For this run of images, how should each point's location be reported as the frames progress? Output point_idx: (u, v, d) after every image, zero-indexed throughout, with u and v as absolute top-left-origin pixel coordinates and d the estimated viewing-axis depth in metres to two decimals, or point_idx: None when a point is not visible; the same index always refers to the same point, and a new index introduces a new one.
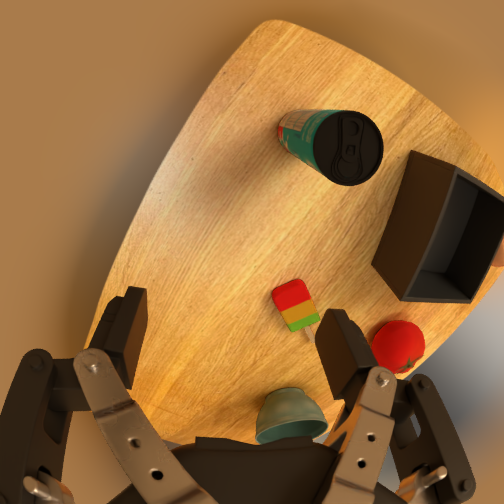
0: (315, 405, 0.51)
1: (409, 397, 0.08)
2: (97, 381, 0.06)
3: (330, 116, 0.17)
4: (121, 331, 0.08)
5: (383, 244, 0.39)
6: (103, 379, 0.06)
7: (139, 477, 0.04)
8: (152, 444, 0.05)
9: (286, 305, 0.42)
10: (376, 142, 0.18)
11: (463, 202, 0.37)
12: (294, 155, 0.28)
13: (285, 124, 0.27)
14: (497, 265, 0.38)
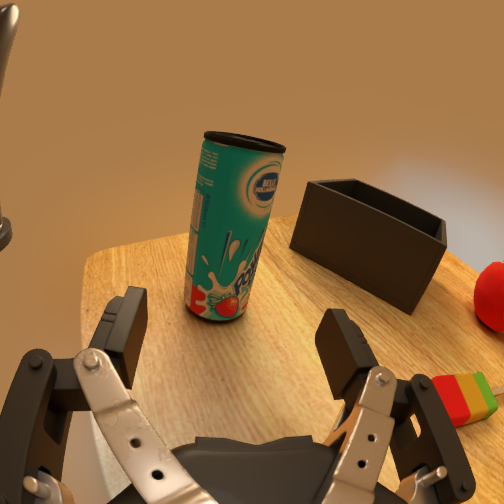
0: None
1: (409, 398, 0.08)
2: (97, 381, 0.06)
3: (205, 133, 0.18)
4: (121, 331, 0.08)
5: (387, 293, 0.31)
6: (103, 379, 0.06)
7: (139, 477, 0.04)
8: (152, 444, 0.05)
9: (461, 404, 0.15)
10: (251, 140, 0.21)
11: None
12: (233, 279, 0.21)
13: (190, 275, 0.22)
14: None
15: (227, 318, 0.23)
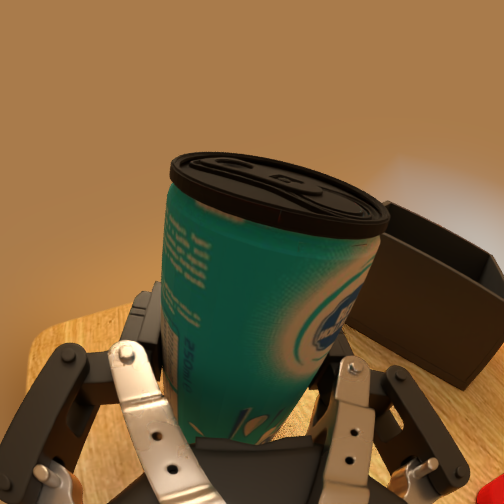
0: None
1: (385, 389, 0.08)
2: (129, 372, 0.07)
3: (173, 162, 0.06)
4: (153, 324, 0.09)
5: (440, 368, 0.20)
6: (140, 370, 0.07)
7: (154, 469, 0.04)
8: (174, 439, 0.05)
9: None
10: (287, 172, 0.09)
11: None
12: None
13: None
14: None
15: None
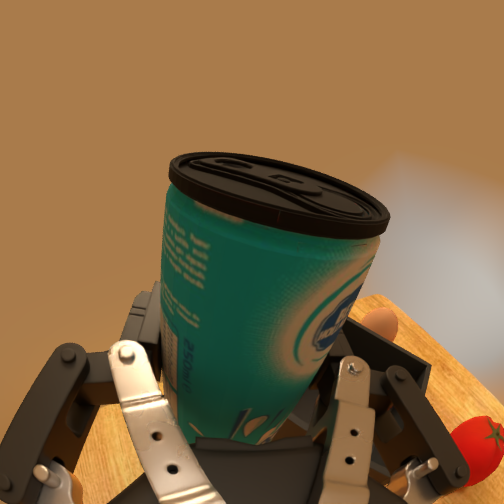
0: None
1: (385, 389, 0.08)
2: (129, 372, 0.07)
3: (172, 162, 0.06)
4: (153, 324, 0.09)
5: None
6: (140, 370, 0.07)
7: (154, 469, 0.04)
8: (174, 439, 0.05)
9: None
10: (287, 172, 0.09)
11: None
12: None
13: None
14: (395, 327, 0.42)
15: None
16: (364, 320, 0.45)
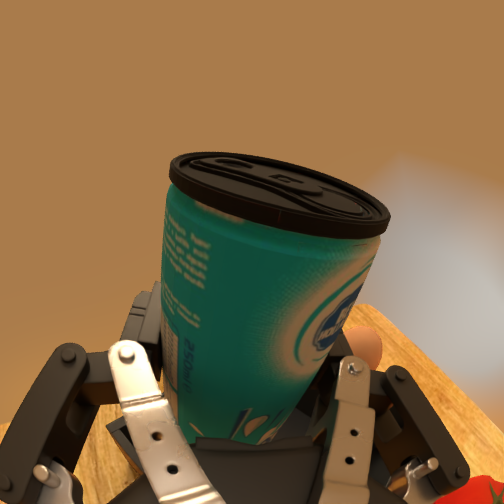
0: None
1: (384, 390, 0.08)
2: (129, 372, 0.07)
3: (172, 162, 0.06)
4: (153, 324, 0.09)
5: None
6: (140, 370, 0.07)
7: (154, 469, 0.04)
8: (174, 439, 0.05)
9: None
10: (287, 171, 0.09)
11: None
12: None
13: None
14: (378, 354, 0.31)
15: None
16: None
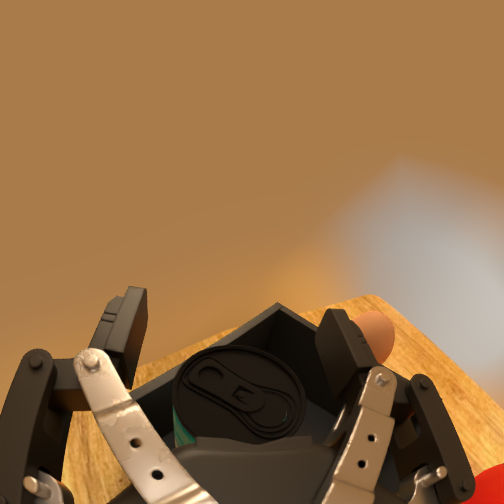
0: None
1: (409, 397, 0.08)
2: (97, 381, 0.06)
3: (172, 392, 0.10)
4: (121, 331, 0.08)
5: None
6: (103, 379, 0.06)
7: (139, 477, 0.04)
8: (152, 444, 0.05)
9: None
10: (250, 357, 0.13)
11: None
12: None
13: None
14: (390, 339, 0.29)
15: None
16: None
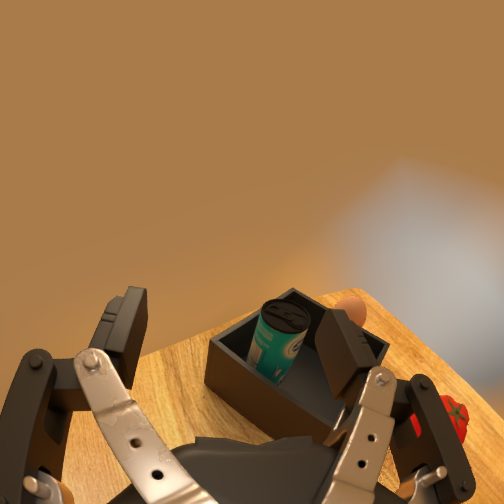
0: None
1: (409, 397, 0.08)
2: (97, 381, 0.06)
3: (262, 314, 0.30)
4: (121, 331, 0.08)
5: None
6: (103, 379, 0.06)
7: (139, 477, 0.04)
8: (152, 444, 0.05)
9: None
10: (287, 303, 0.33)
11: None
12: (276, 383, 0.33)
13: None
14: (363, 313, 0.49)
15: None
16: (335, 307, 0.53)
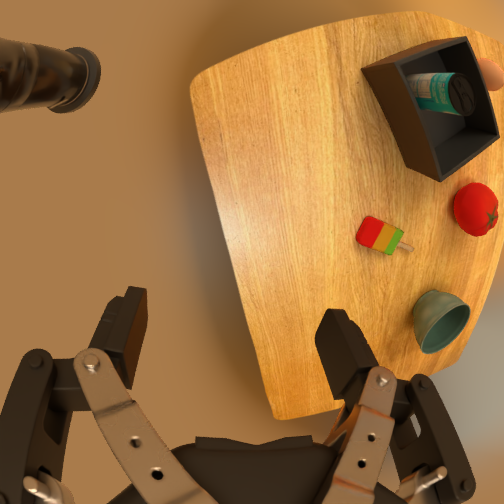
0: (449, 295, 0.51)
1: (409, 398, 0.08)
2: (97, 381, 0.06)
3: (449, 85, 0.21)
4: (121, 331, 0.08)
5: (401, 148, 0.40)
6: (103, 379, 0.06)
7: (139, 477, 0.04)
8: (152, 444, 0.05)
9: (371, 241, 0.47)
10: (467, 81, 0.21)
11: (431, 65, 0.32)
12: None
13: None
14: (498, 87, 0.28)
15: None
16: (483, 61, 0.27)
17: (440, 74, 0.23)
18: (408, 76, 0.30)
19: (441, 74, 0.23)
